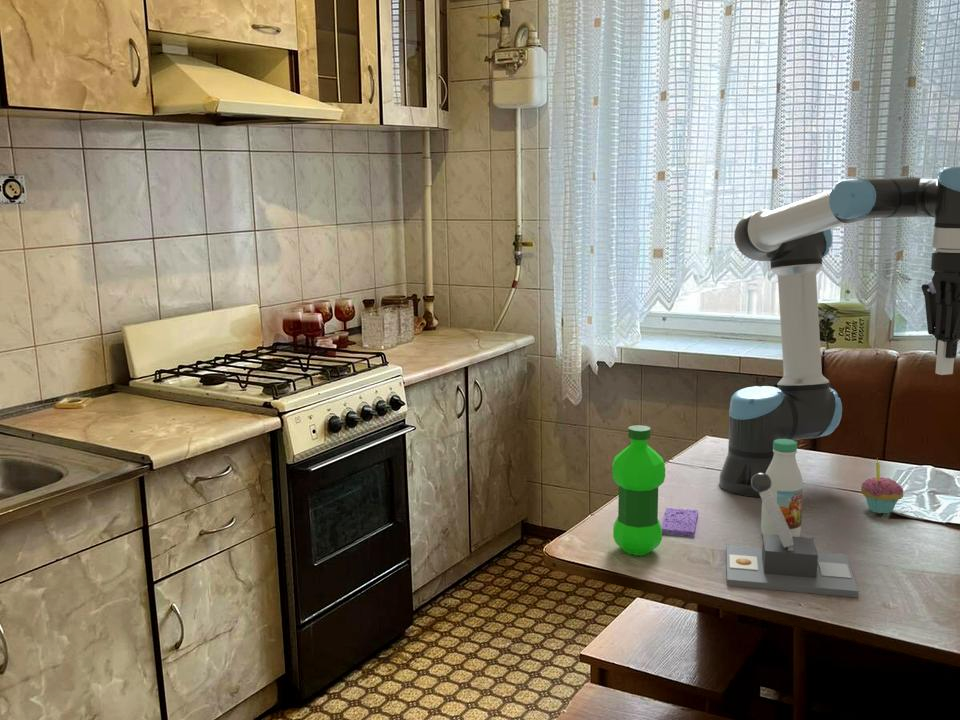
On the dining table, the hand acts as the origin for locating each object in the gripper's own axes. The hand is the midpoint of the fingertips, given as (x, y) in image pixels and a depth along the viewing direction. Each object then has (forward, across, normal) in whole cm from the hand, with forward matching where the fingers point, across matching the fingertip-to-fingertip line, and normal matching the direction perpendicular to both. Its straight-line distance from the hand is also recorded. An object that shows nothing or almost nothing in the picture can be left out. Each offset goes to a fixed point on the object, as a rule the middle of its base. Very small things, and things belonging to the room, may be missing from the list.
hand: (944, 373), depth 175 cm
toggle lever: (+29, -4, +35) cm, 46 cm away
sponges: (+35, +24, +43) cm, 60 cm away
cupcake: (+35, +18, -3) cm, 39 cm away
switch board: (+34, -4, +35) cm, 49 cm away
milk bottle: (+35, +12, +26) cm, 45 cm away
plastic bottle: (+35, +14, +57) cm, 68 cm away
